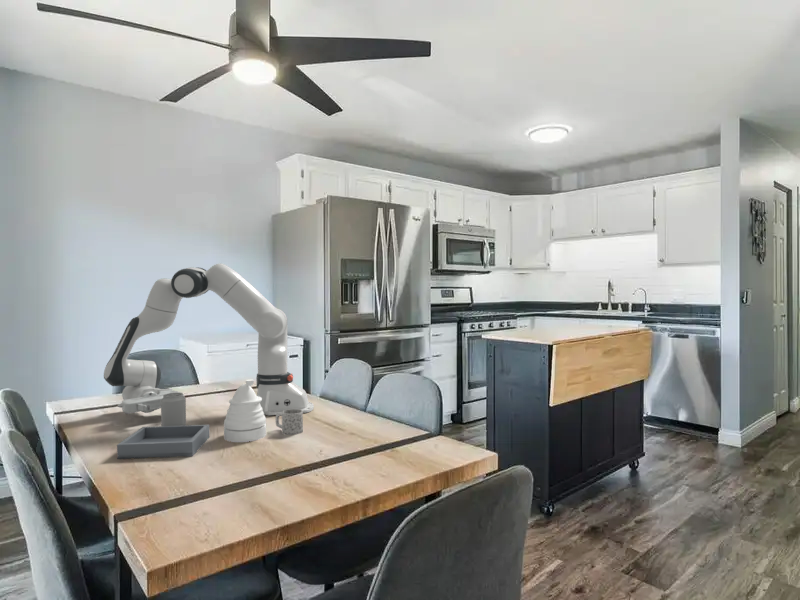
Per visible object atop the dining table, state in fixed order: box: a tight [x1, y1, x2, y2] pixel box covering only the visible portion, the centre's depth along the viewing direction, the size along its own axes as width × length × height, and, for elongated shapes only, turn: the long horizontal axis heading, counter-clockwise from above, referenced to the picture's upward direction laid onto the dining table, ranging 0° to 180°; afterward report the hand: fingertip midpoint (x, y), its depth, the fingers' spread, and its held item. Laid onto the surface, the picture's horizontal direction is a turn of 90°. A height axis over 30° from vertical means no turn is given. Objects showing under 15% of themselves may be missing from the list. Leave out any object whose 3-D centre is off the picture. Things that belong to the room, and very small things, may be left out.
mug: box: [275, 409, 304, 436], centre depth 167 cm, size 10×7×7 cm, turn 65°
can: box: [160, 392, 187, 426], centre depth 169 cm, size 8×8×12 cm
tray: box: [116, 424, 211, 460], centre depth 151 cm, size 20×18×4 cm
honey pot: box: [223, 379, 267, 443], centre depth 162 cm, size 13×13×18 cm
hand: (162, 405), depth 176 cm, fingers open, 8 cm apart
